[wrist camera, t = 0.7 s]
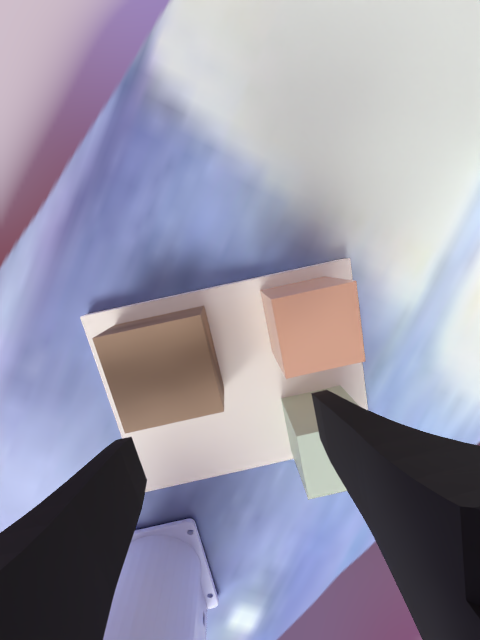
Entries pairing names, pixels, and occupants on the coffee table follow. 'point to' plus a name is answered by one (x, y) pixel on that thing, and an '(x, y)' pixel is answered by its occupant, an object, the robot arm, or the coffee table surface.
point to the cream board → (229, 382)
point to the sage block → (311, 444)
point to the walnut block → (162, 369)
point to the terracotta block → (314, 325)
